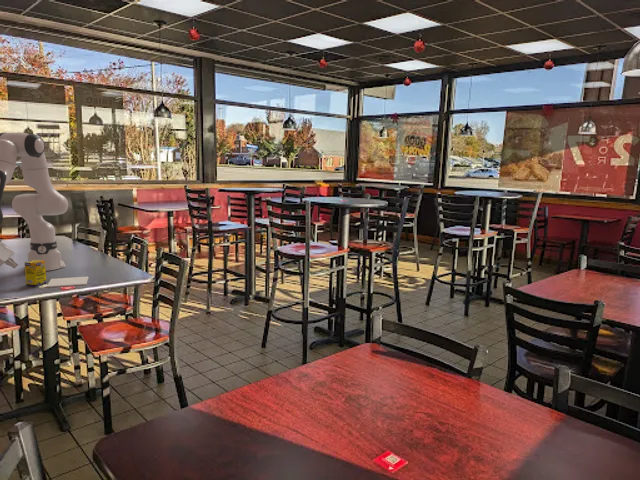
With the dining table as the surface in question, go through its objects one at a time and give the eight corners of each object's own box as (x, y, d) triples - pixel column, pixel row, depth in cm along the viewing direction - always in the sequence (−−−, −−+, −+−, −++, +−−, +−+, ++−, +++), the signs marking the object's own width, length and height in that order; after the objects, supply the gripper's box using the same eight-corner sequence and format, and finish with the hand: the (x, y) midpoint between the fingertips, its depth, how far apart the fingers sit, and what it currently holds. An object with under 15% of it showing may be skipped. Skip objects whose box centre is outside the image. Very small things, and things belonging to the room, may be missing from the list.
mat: (51, 280, 224) (51, 278, 224) (88, 277, 230) (88, 276, 230) (46, 287, 211) (46, 286, 211) (86, 284, 217) (86, 283, 217)
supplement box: (37, 286, 212) (35, 263, 211) (25, 285, 214) (23, 262, 212) (47, 283, 218) (45, 260, 216) (36, 282, 219) (34, 259, 218)
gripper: (-13, 245, 197) (17, 266, 203) (-1, 237, 216) (26, 257, 221) (-24, 256, 196) (5, 277, 202) (-11, 247, 215) (15, 266, 220)
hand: (16, 266), depth 212 cm, fingers closed
